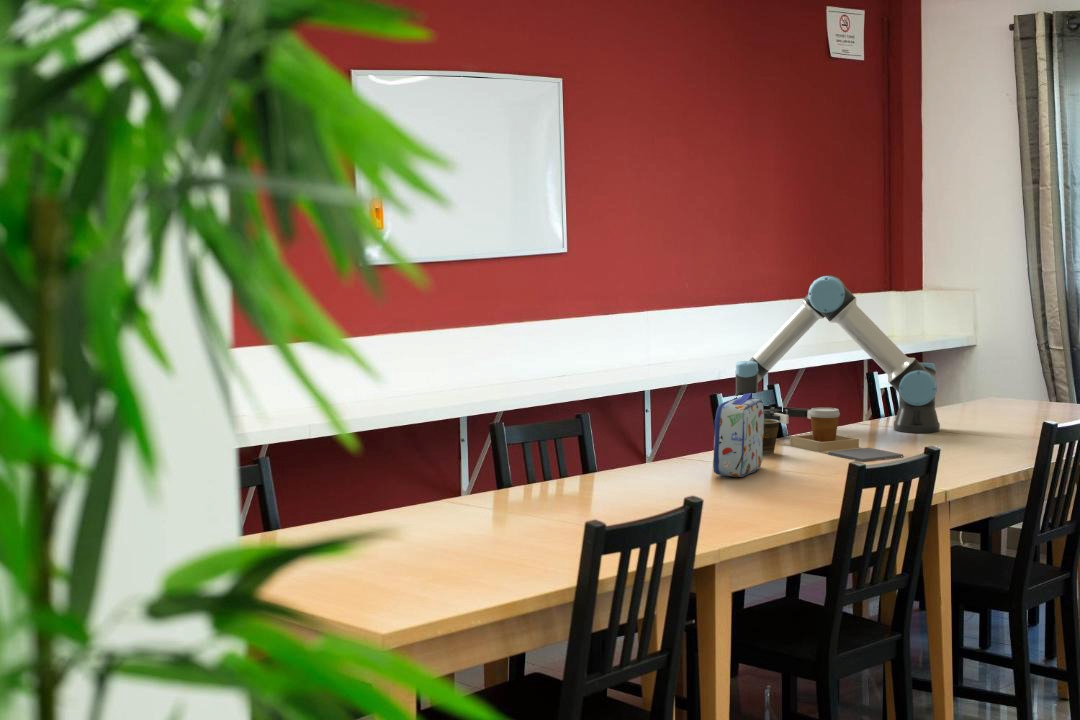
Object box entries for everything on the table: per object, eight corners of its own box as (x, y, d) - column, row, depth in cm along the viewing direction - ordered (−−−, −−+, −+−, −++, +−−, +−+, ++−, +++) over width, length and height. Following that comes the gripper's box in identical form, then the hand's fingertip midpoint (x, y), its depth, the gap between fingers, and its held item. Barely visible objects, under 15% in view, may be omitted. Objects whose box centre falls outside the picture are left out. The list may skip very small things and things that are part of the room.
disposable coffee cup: (805, 448, 405) (805, 410, 404) (813, 444, 414) (814, 406, 413) (835, 450, 401) (835, 412, 400) (843, 445, 409) (843, 408, 408)
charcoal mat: (868, 450, 401) (868, 447, 401) (903, 457, 388) (903, 454, 388) (828, 454, 393) (828, 451, 393) (862, 461, 380) (862, 459, 380)
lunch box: (731, 463, 380) (732, 388, 378) (767, 465, 376) (767, 390, 374) (709, 479, 355) (709, 400, 352) (746, 482, 351) (747, 401, 349)
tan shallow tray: (821, 440, 420) (821, 431, 420) (865, 449, 401) (865, 440, 401) (784, 444, 413) (784, 435, 413) (827, 453, 395) (827, 444, 394)
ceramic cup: (756, 449, 404) (756, 417, 403) (784, 452, 398) (785, 420, 397) (734, 455, 394) (734, 422, 393) (763, 458, 388) (764, 425, 387)
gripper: (793, 418, 440) (834, 426, 421) (733, 424, 429) (773, 432, 410) (793, 396, 439) (835, 403, 421) (733, 401, 428) (773, 409, 409)
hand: (804, 418), depth 415 cm, fingers open, 13 cm apart
